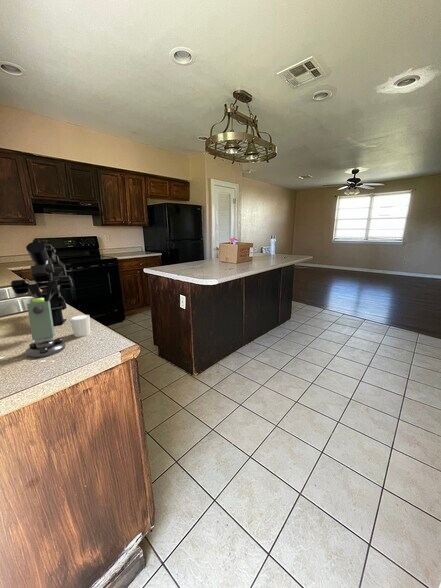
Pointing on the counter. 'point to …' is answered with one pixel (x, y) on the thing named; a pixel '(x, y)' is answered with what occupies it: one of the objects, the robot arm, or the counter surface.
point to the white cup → (80, 325)
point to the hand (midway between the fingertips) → (44, 303)
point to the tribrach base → (45, 348)
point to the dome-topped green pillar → (41, 320)
